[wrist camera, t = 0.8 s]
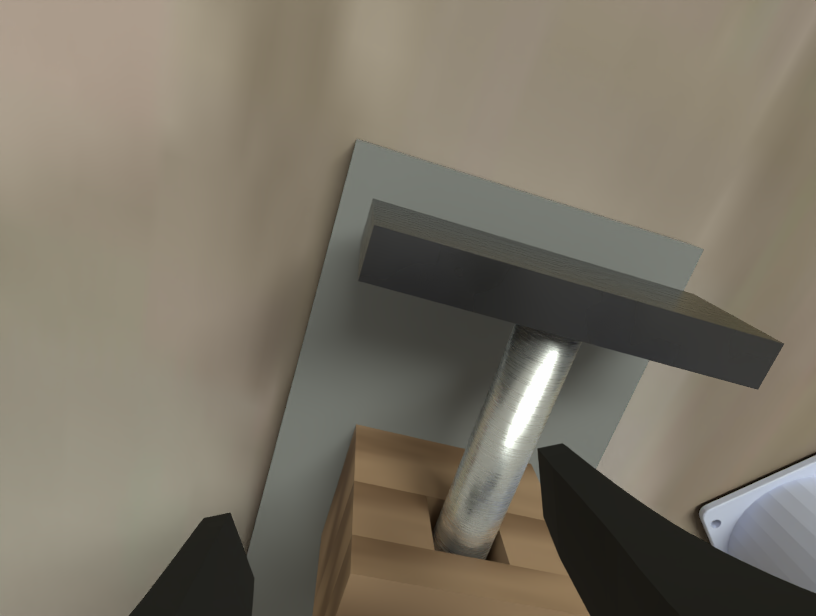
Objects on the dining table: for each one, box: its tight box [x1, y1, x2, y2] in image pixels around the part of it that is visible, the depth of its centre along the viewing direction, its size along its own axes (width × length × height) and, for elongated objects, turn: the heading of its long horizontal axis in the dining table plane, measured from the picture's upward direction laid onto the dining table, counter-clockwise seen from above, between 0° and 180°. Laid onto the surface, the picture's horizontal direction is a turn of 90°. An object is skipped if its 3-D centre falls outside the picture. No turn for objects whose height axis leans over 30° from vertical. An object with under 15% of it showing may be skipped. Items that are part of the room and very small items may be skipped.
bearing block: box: [312, 424, 590, 616], centre depth 20 cm, size 6×8×8 cm
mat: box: [247, 139, 704, 616], centre depth 24 cm, size 26×14×1 cm, turn 163°
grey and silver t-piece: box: [358, 198, 784, 560], centre depth 20 cm, size 22×12×4 cm, turn 163°
